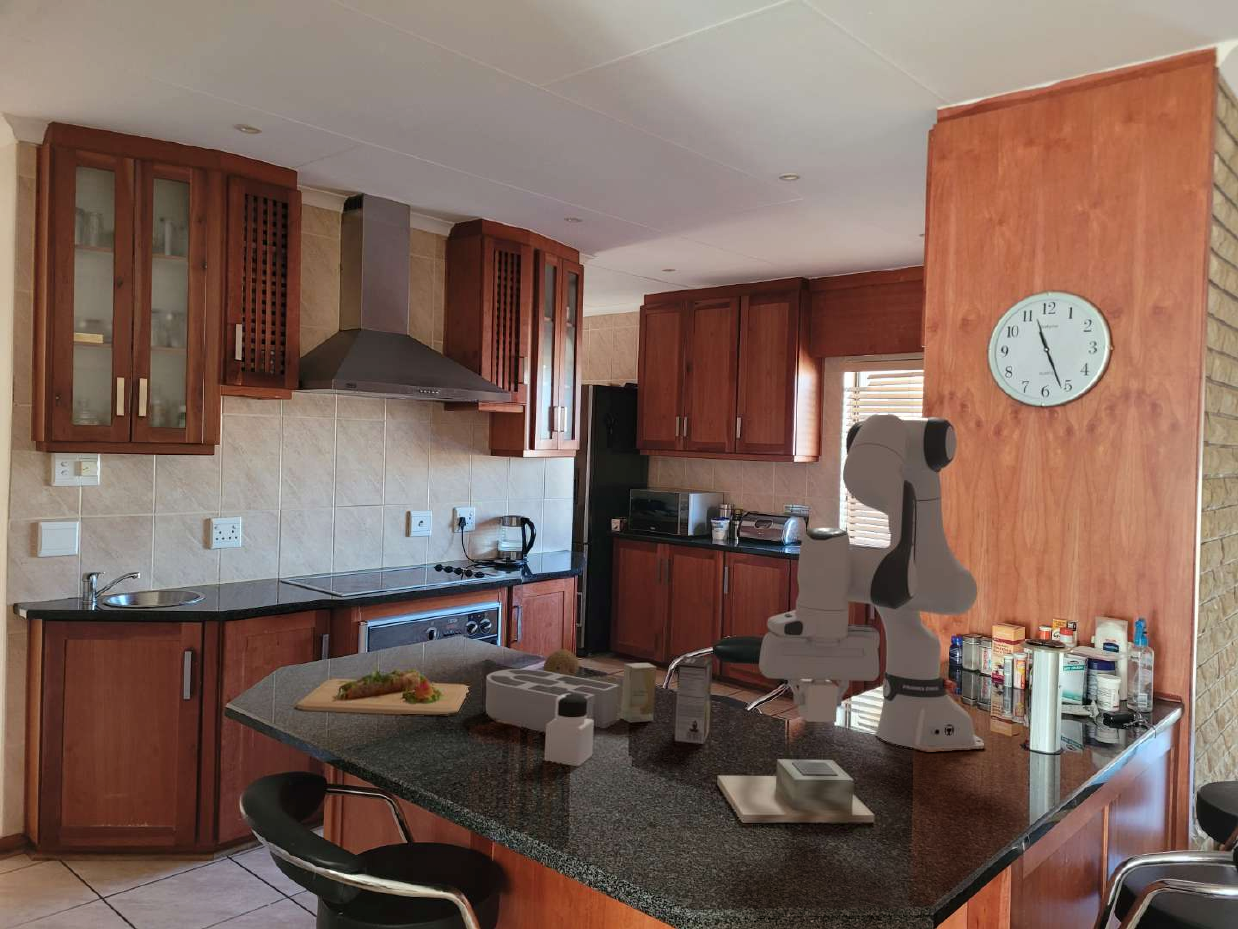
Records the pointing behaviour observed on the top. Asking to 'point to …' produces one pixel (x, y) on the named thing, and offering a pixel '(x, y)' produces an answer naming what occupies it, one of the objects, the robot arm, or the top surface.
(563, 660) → the natural sponge
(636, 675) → the skincare box
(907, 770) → the top surface
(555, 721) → the medicine bottle
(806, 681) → the building block
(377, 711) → the cutting board
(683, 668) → the food carton
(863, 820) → the display stand
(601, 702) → the grey compartment organizer
